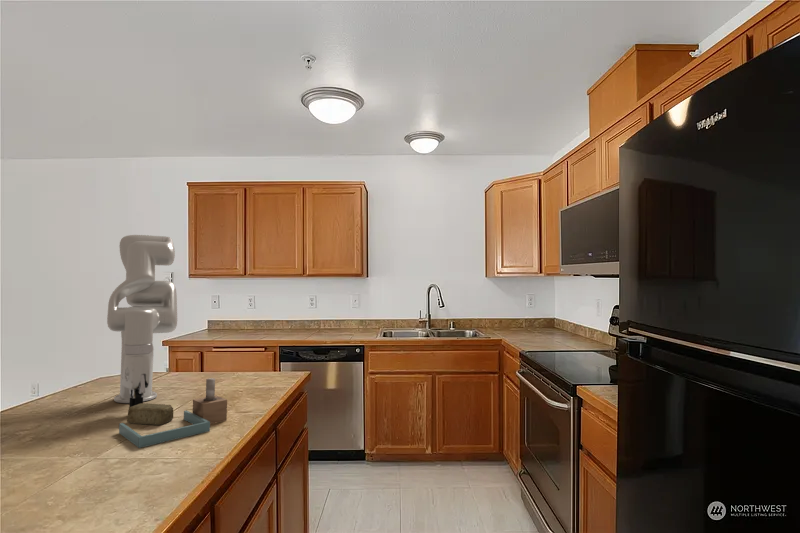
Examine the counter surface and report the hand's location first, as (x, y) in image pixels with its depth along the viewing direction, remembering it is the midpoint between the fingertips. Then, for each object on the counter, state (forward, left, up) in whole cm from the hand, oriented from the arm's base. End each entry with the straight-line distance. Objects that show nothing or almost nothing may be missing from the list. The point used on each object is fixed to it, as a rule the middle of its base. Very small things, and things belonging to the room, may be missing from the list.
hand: (135, 410), depth 137 cm
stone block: (+10, +1, -2) cm, 10 cm away
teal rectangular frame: (+22, 0, -1) cm, 22 cm away
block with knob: (+21, +13, -1) cm, 24 cm away
